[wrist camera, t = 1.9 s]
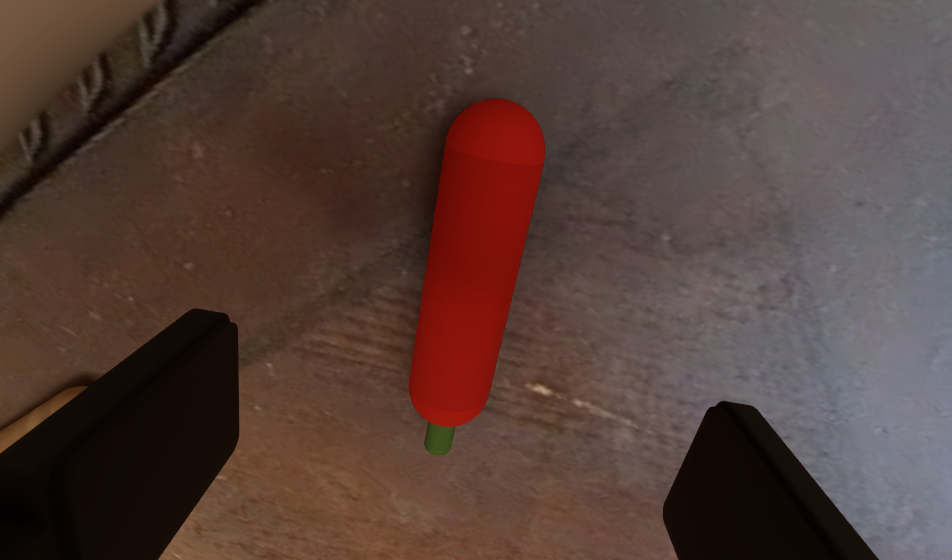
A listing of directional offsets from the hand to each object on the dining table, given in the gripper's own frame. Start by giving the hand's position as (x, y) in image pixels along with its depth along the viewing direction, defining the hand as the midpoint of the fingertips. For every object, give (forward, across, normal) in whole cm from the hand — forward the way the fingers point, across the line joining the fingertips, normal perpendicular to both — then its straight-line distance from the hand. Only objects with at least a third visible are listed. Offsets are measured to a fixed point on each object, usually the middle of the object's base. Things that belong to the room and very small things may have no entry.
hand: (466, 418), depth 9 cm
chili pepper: (+7, 0, 0) cm, 7 cm away
